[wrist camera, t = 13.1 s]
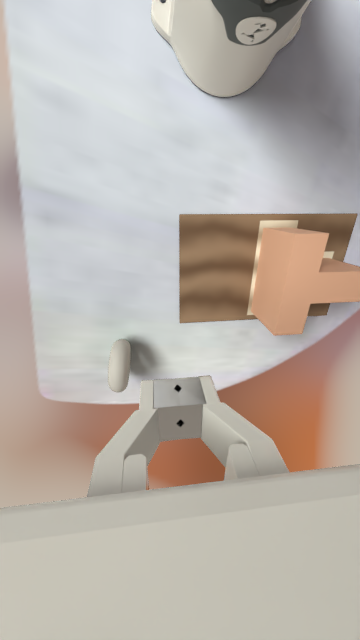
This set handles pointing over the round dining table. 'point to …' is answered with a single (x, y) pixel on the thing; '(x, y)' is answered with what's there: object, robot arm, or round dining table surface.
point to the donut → (119, 365)
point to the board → (240, 259)
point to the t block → (298, 279)
